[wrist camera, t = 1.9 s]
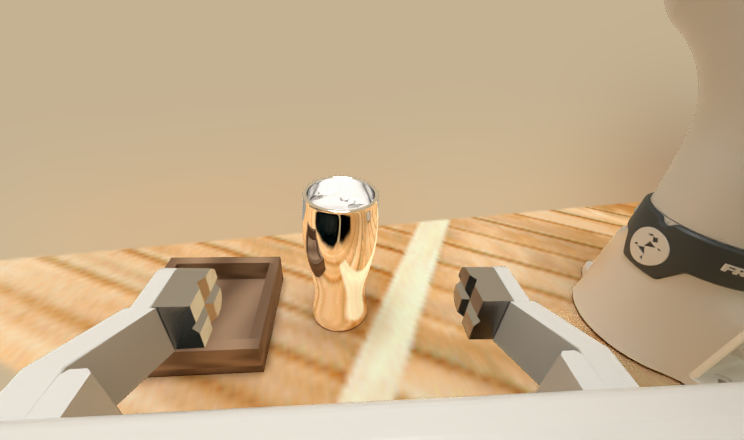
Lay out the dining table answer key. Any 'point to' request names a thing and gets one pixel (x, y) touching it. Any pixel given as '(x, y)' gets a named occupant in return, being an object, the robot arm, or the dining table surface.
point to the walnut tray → (233, 317)
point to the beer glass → (340, 247)
